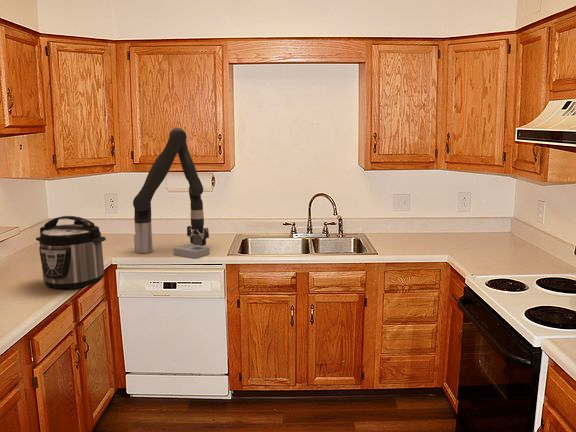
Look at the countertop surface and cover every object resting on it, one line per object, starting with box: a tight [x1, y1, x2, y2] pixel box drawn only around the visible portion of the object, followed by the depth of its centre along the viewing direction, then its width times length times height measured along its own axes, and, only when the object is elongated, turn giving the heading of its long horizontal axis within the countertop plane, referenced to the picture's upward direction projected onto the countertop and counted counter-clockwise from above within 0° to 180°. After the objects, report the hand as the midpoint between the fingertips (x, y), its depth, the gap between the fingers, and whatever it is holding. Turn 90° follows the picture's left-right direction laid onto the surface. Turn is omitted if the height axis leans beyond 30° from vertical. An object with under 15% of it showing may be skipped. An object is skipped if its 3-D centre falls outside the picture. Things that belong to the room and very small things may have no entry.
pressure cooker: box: [35, 215, 107, 290], centre depth 263 cm, size 30×28×32 cm
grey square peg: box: [193, 234, 203, 246], centre depth 328 cm, size 4×4×8 cm
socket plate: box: [173, 243, 211, 260], centre depth 315 cm, size 16×12×4 cm
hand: (198, 244), depth 329 cm, fingers open, 8 cm apart
